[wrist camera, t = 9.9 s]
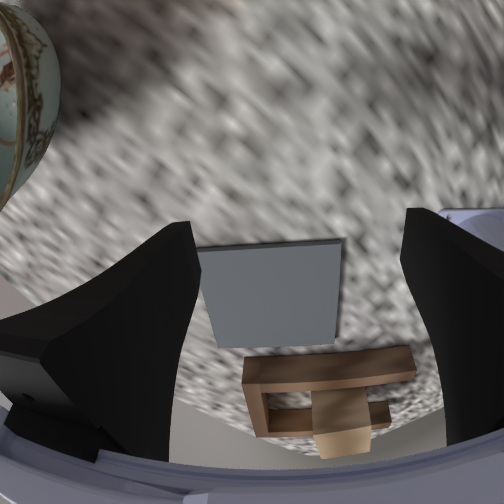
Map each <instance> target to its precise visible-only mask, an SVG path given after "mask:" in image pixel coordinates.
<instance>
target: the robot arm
mask: <svg viewBox="0 0 504 504" xmlns="http://www.w3.org/2000/svg"><path fill="white" fill-rule="evenodd" d="M448 214H451V217H450V218H448V219H446V217H447V215H448ZM400 262H401V266H402V269H403V273H404V276H405V279H406V282H407V285H408V287H409V289H410V292H411V294H412V296H413V299H414V301H415V303H416V305H417V308H418V310H419V312H420V315H421V317H422V319H423V322H424V324H425V327H426V329H427V331H428V334H429V337H430V340H431V343H432V346H433V350H434V354H435V358H436V362H437V366H438V371H439V376H440V382H441V387H442V393H443V401H444V409H445V418H446V437H447V447H443V448H440V449H436V450H432V451H428V452H424V453H419V454H415V455H410V456H406V457H400V458H395V459H389V460H384V461H377V462H370V463H363V464H356V465H347V466H339V467H326V468H312V469H292V470H291V469H289V470H251V469H228V468H214V467H213V468H212V467H202V466H192V465H184V464H176V463H169V440H170V425H171V413H172V404H173V396H174V388H175V381H176V375H177V369H178V363H179V358H180V353H181V349H182V346H183V343H184V339H185V336H186V333H187V329H188V326H189V323H190V320H191V317H192V313H193V310H194V307H195V303H196V300H197V297H198V292H199V286H200V279H201V273H202V270H201V266H200V262H199V258H198V254H197V250H196V245H195V241H194V237H193V233H192V229H191V224H190V221H183V222H173V223H171V224H169V225H167V226H166V227H164V228H163V229H161V230H160V231H159V232H157V233H156V234H155V235H153V236H152V237H151V238H149V239H148V240H147V241H145V242H144V243H143V244H141V245H140V246H139V247H137V248H136V249H135V250H134V251H132V252H131V253H129V254H128V255H127V256H125V257H124V258H122V259H121V260H120V261H118V262H117V263H116V264H114V265H113V266H111V267H110V268H108V269H107V270H106V271H104V272H102V273H101V274H99V275H98V276H96V277H94V278H93V279H91V280H90V281H88V282H86V283H84V284H83V285H81V286H79V287H77V288H75V289H73V290H71V291H69V292H67V293H66V294H64V295H62V296H60V297H58V298H56V299H54V300H51V301H49V302H47V303H45V304H42V305H40V306H38V307H35V308H33V309H31V310H28V311H25V312H22V313H19V314H16V315H14V316H10V317H7V318H4V319H2V320H0V391H1V392H2V393H3V394H4V395H5V396H6V397H7V398H8V399H9V400H10V401H11V402H12V403H13V405H12V407H11V409H10V411H8V410H7V409H5V408H4V407H2V406H0V495H1V496H2V497H3V498H5V499H6V500H8V501H9V502H11V503H12V504H504V208H488V209H442V210H440V211H438V213H437V214H436V213H434V212H432V211H430V210H428V209H425V208H407V212H406V220H405V227H404V234H403V241H402V248H401V254H400Z"/></svg>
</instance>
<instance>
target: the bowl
mask: <svg viewBox="0 0 504 504" xmlns="http://www.w3.org/2000/svg"><path fill="white" fill-rule="evenodd" d="M60 100H61V75H60V68H59V62H58V58H57V55H56V52H55V49H54V46H53V44H52V42H51V40H50V38H49V36H48V34H47V33H46V31H45V30H44V28H43V27H42V26H41V25H40V24H39V22H38V21H37V20H36V19H34V18H33V17H32V16H31V15H30V14H29V13H28V12H26V11H24V10H22V9H20V8H19V7H17V6H14V5H8V4H5V3H2V2H0V212H1V210H2V209H3V207H4V206H5V204H6V203H7V201H8V200H9V199H10V198H11V197H12V196H13V195H14V194H15V193H16V192H17V191H18V189H19V188H20V187H21V186H22V185H23V184H24V183H25V182H26V181H27V180H28V178H29V177H30V176H31V174H32V173H33V172H34V170H35V169H36V167H37V166H38V164H39V163H40V161H41V159H42V157H43V156H44V154H45V152H46V150H47V148H48V145H49V143H50V140H51V138H52V135H53V132H54V129H55V126H56V123H57V119H58V114H59V108H60Z"/></svg>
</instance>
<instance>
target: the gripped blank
mask: <svg viewBox="0 0 504 504" xmlns="http://www.w3.org/2000/svg"><path fill="white" fill-rule="evenodd" d="M311 400H312V422H313V437H314V439H315V442H316V445H317V448H318V451H319V453H320V456H321V459H325V458H333V457H340V456H346V455H352V454H358V453H364V452H369V451H370V441H371V420H370V413H369V407H368V401H367V395H366V389H365V386H363V387H353V388H343V389H331V390H318V391H311Z"/></svg>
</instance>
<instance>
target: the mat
mask: <svg viewBox="0 0 504 504" xmlns="http://www.w3.org/2000/svg"><path fill="white" fill-rule="evenodd" d="M196 250H197V254H198V258H199V262H200V266H201V270H202V273H201V279H200V285H201V289H202V293H203V296H204V300H205V304H206V307H207V311H208V314H209V318H210V322H211V325H212V328H213V332H214V335H215V339H216V342H217V346H218V348H256V347H286V346H306V345H322V344H334V341H335V331H336V320H337V308H338V295H339V280H340V262H341V241H340V240H329V241H312V242H295V243H278V244H262V245H245V246H229V247H213V248H198V249H196Z"/></svg>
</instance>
